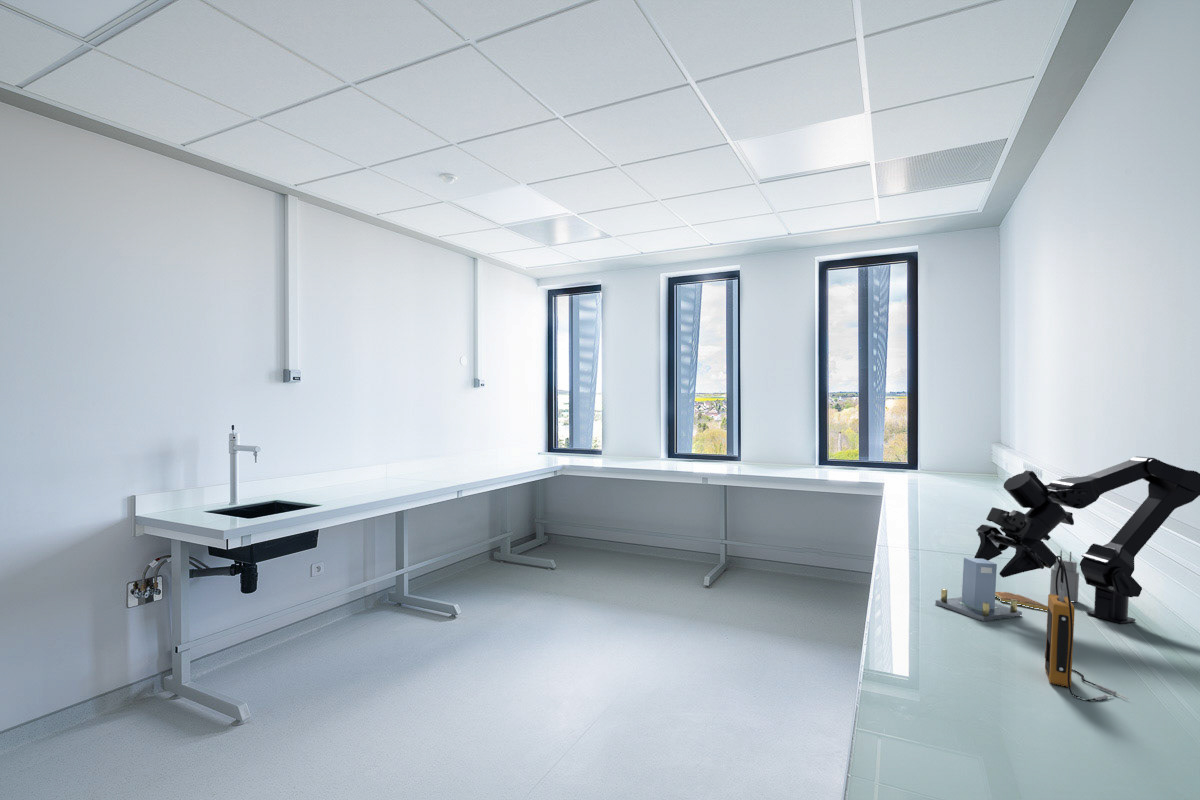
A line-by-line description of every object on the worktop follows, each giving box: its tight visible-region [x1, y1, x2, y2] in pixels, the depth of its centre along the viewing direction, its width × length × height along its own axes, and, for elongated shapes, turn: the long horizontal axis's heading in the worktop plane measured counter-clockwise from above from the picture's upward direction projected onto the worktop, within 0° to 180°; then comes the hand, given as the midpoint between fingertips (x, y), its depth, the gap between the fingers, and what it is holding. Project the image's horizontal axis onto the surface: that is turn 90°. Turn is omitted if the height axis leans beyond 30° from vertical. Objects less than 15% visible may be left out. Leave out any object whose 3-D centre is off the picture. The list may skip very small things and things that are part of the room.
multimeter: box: [1044, 555, 1129, 701], centre depth 95 cm, size 15×10×20 cm
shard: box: [995, 591, 1048, 612], centre depth 138 cm, size 11×8×2 cm
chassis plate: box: [935, 588, 1023, 622], centre depth 132 cm, size 13×11×4 cm
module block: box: [961, 557, 998, 609], centre depth 132 cm, size 4×5×10 cm
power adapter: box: [1049, 549, 1080, 603], centre depth 145 cm, size 3×5×12 cm, turn 51°
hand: (986, 569), depth 132 cm, fingers open, 9 cm apart
